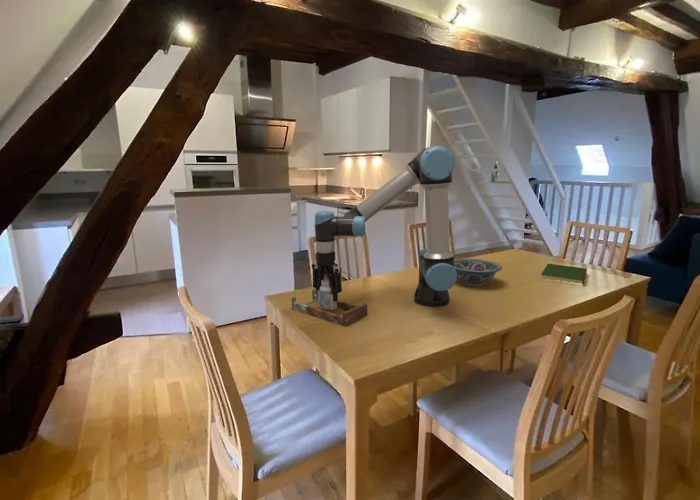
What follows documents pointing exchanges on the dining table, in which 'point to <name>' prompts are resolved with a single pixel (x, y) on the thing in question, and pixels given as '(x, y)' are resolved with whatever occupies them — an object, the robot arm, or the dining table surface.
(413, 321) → the dining table surface
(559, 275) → the hardcover book
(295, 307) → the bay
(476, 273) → the bowl
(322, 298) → the pill bottle
